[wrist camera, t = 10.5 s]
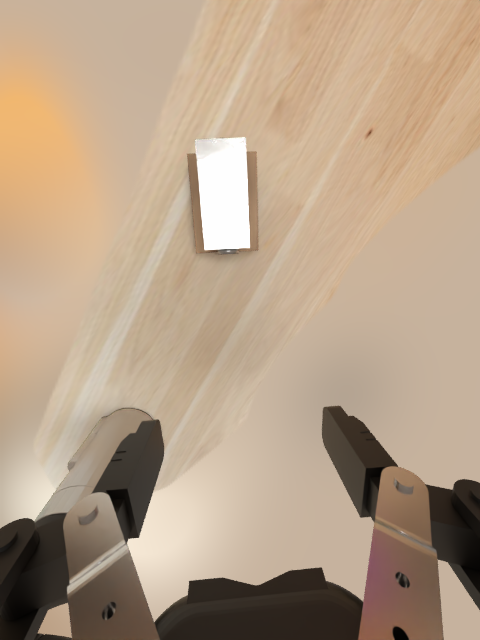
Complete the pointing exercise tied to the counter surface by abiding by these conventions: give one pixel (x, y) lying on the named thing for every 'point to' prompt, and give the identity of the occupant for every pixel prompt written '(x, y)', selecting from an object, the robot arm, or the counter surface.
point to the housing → (223, 193)
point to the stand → (252, 202)
